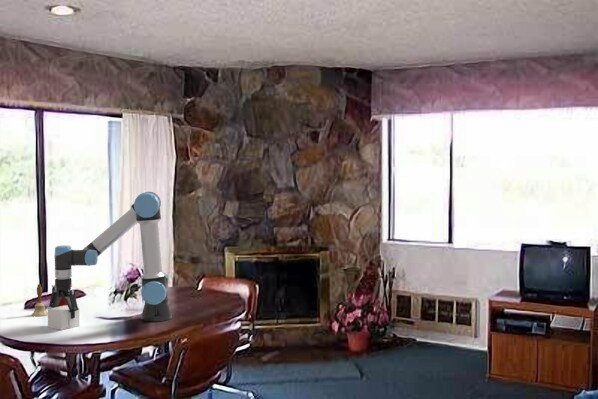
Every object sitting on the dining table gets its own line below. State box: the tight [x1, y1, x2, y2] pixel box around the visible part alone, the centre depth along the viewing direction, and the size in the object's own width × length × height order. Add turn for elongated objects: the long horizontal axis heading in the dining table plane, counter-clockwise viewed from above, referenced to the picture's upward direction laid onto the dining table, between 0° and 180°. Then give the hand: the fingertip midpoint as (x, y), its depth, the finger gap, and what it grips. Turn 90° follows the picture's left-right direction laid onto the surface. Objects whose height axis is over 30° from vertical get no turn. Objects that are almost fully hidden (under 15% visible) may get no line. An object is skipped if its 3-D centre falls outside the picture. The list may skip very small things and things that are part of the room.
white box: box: [47, 305, 80, 331], centre depth 335 cm, size 10×10×9 cm
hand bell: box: [31, 283, 48, 318], centre depth 360 cm, size 8×8×16 cm
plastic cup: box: [51, 284, 73, 307], centre depth 382 cm, size 11×11×12 cm
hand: (63, 323), depth 335 cm, fingers open, 11 cm apart
